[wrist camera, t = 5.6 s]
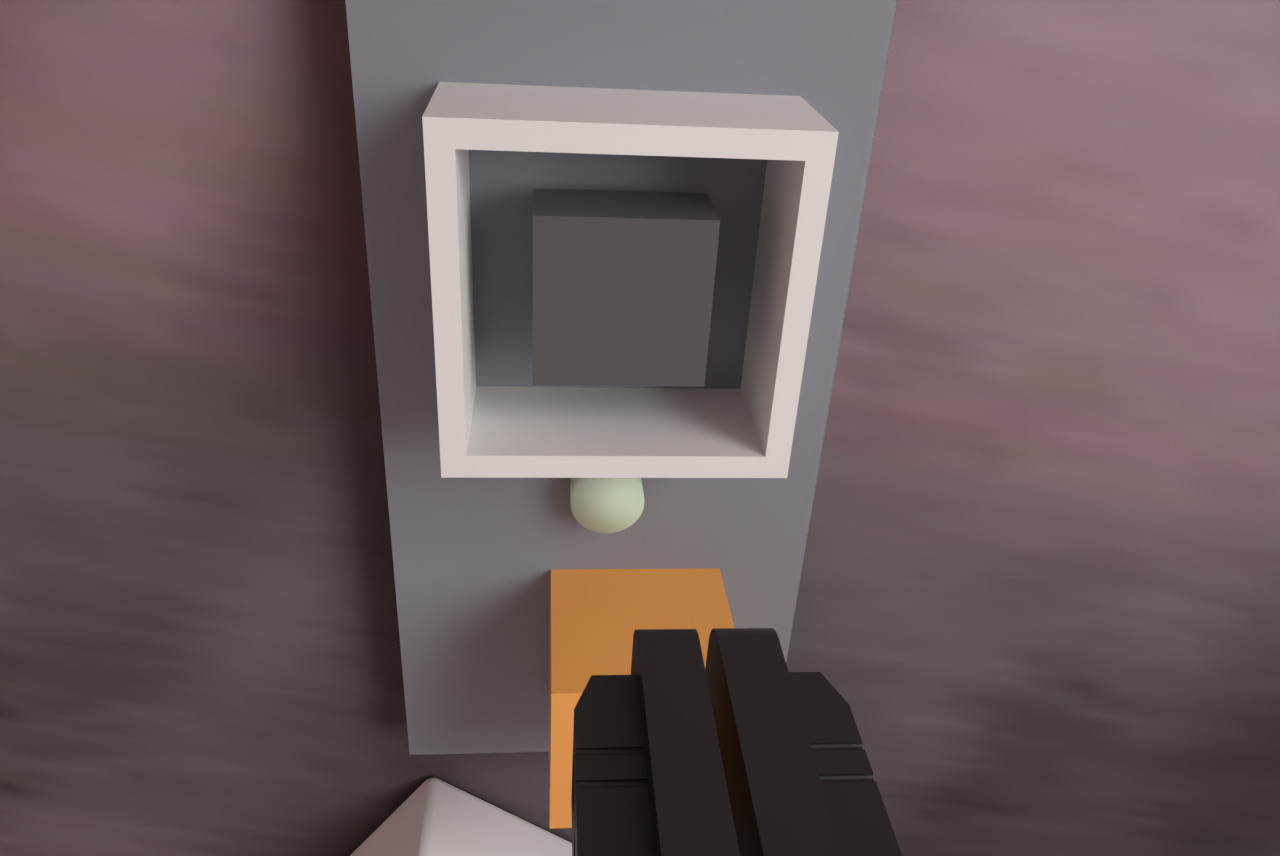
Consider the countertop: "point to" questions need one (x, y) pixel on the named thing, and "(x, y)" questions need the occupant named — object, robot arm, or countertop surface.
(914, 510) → the countertop surface
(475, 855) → the medicine bottle
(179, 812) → the countertop surface
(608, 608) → the orange cube
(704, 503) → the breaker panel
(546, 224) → the button
